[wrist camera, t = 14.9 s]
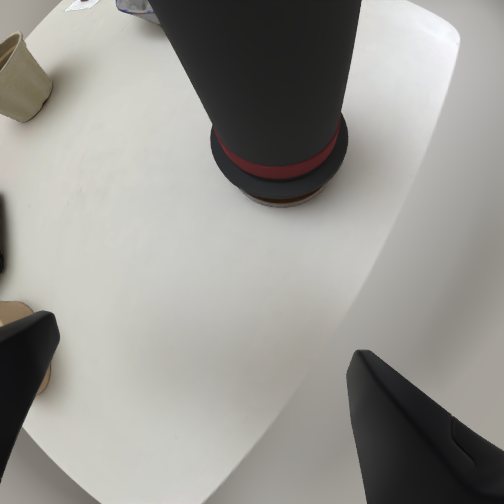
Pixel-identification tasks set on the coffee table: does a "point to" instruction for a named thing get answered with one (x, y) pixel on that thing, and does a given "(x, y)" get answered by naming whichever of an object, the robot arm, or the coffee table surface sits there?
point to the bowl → (138, 9)
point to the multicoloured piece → (81, 4)
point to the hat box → (13, 311)
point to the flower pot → (21, 80)
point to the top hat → (268, 85)
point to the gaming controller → (0, 265)
